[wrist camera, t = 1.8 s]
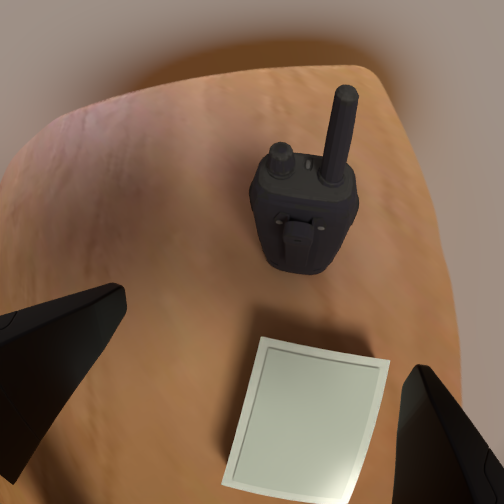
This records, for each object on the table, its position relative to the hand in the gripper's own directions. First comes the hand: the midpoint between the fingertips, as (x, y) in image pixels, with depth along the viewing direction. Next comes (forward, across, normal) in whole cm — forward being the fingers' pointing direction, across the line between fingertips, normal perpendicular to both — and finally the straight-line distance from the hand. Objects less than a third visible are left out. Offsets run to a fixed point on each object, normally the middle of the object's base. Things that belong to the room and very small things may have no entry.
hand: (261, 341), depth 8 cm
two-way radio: (+14, 0, +4) cm, 14 cm away
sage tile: (+6, -3, +12) cm, 14 cm away
